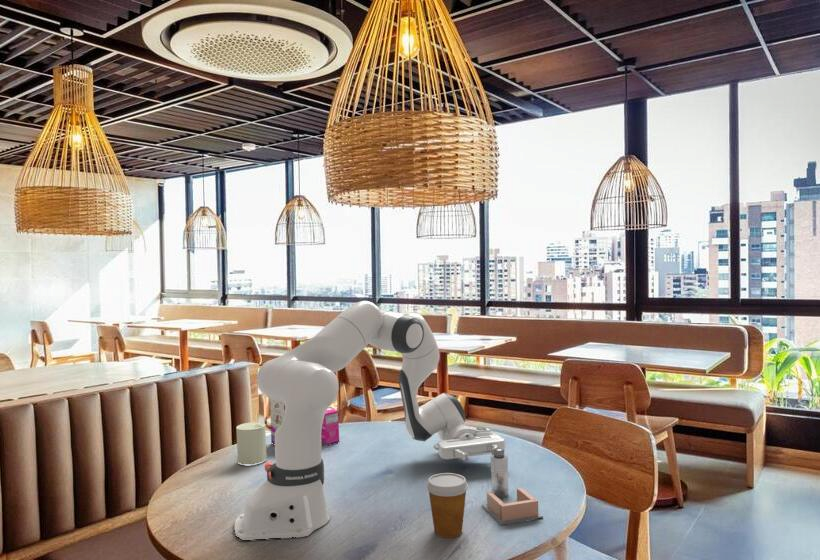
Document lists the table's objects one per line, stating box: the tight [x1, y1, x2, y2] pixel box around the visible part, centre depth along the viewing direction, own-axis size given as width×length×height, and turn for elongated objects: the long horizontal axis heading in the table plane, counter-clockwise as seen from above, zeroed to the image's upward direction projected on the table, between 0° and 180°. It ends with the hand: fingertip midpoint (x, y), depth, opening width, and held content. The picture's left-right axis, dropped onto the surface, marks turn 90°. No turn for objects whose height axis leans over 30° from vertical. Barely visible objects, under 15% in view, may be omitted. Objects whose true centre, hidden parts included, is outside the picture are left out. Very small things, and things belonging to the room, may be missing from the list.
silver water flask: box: [490, 448, 510, 499], centre depth 150 cm, size 4×4×12 cm
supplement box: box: [321, 407, 340, 446], centre depth 199 cm, size 6×6×12 cm
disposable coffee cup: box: [426, 472, 469, 539], centre depth 130 cm, size 10×10×12 cm
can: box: [236, 421, 267, 464], centre depth 182 cm, size 9×9×12 cm
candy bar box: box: [269, 398, 285, 445], centre depth 197 cm, size 11×5×16 cm, turn 40°
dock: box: [481, 487, 544, 526], centre depth 139 cm, size 11×11×4 cm
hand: (481, 455), depth 162 cm, fingers open, 8 cm apart
